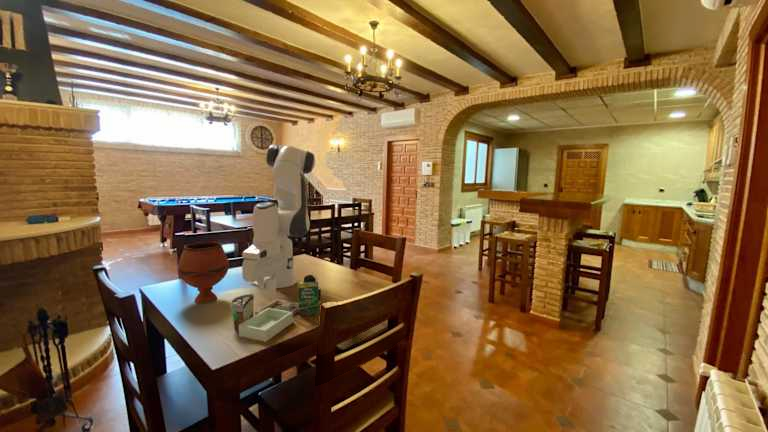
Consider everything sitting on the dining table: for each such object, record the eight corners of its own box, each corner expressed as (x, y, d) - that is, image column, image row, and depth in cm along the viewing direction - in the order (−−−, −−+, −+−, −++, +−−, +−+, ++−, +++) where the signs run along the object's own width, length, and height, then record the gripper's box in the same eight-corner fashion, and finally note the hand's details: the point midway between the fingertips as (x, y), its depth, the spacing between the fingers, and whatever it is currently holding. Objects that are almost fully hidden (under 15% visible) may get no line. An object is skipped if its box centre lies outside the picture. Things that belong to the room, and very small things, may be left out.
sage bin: (238, 336, 108) (238, 325, 108) (268, 317, 123) (268, 307, 122) (265, 341, 105) (265, 330, 104) (292, 322, 119) (292, 312, 119)
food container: (238, 318, 121) (237, 293, 120) (254, 318, 122) (254, 293, 121) (224, 333, 109) (223, 306, 108) (243, 333, 110) (242, 306, 109)
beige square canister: (304, 306, 134) (304, 279, 133) (300, 300, 141) (300, 274, 139) (320, 303, 138) (321, 277, 136) (316, 298, 144) (316, 272, 143)
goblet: (169, 304, 133) (166, 246, 130) (209, 289, 151) (207, 238, 148) (201, 312, 126) (198, 251, 123) (239, 296, 144) (237, 242, 141)
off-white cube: (259, 293, 111) (259, 279, 110) (266, 289, 115) (266, 276, 114) (269, 295, 110) (268, 281, 109) (276, 291, 113) (275, 277, 113)
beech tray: (255, 315, 125) (255, 311, 124) (276, 302, 137) (276, 299, 137) (284, 320, 120) (284, 317, 120) (303, 307, 133) (303, 304, 133)
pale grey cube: (280, 314, 126) (280, 306, 126) (283, 310, 130) (283, 302, 129) (289, 314, 126) (289, 306, 126) (291, 310, 130) (291, 302, 129)
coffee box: (297, 315, 125) (297, 283, 124) (298, 312, 128) (298, 281, 127) (317, 315, 126) (318, 283, 125) (318, 312, 129) (318, 281, 127)
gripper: (277, 242, 121) (278, 277, 123) (238, 254, 102) (239, 295, 103) (291, 243, 119) (292, 279, 121) (254, 255, 100) (255, 297, 101)
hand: (267, 286), depth 112 cm, fingers closed on off-white cube, 4 cm apart
